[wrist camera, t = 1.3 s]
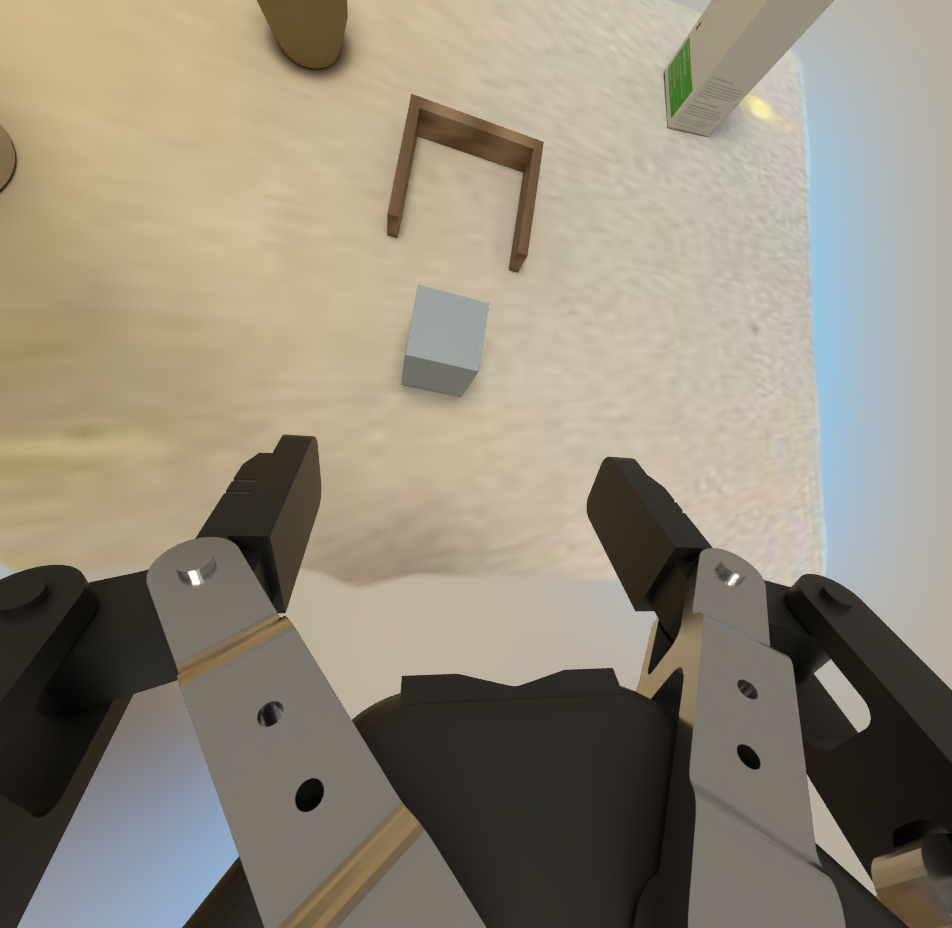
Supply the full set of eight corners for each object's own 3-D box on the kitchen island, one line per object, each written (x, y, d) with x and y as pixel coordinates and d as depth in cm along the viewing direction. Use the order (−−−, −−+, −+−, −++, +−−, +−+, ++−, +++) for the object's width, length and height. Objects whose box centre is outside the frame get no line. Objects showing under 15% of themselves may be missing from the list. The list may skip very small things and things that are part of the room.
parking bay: (387, 235, 40) (387, 213, 37) (409, 122, 42) (411, 93, 39) (517, 272, 43) (527, 255, 40) (533, 165, 44) (543, 141, 42)
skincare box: (662, 70, 50) (782, -116, 35) (706, 82, 52) (839, -92, 37) (666, 130, 49) (790, -35, 34) (711, 140, 51) (848, -14, 36)
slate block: (401, 384, 39) (405, 354, 31) (411, 327, 40) (417, 284, 32) (460, 397, 40) (478, 371, 32) (469, 341, 41) (488, 303, 33)
